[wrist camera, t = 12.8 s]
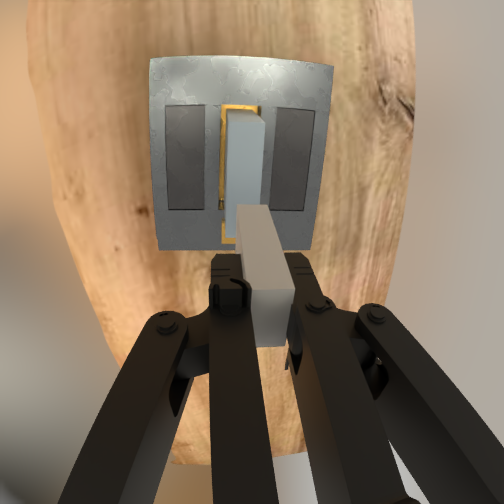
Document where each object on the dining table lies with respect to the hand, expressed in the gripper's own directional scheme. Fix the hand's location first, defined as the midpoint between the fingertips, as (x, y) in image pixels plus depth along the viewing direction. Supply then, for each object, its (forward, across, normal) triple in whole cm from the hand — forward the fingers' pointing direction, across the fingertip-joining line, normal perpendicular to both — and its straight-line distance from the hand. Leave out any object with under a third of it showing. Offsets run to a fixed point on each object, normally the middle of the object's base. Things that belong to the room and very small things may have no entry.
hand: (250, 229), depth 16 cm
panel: (+18, 0, 0) cm, 18 cm away
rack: (+19, 0, 0) cm, 19 cm away
